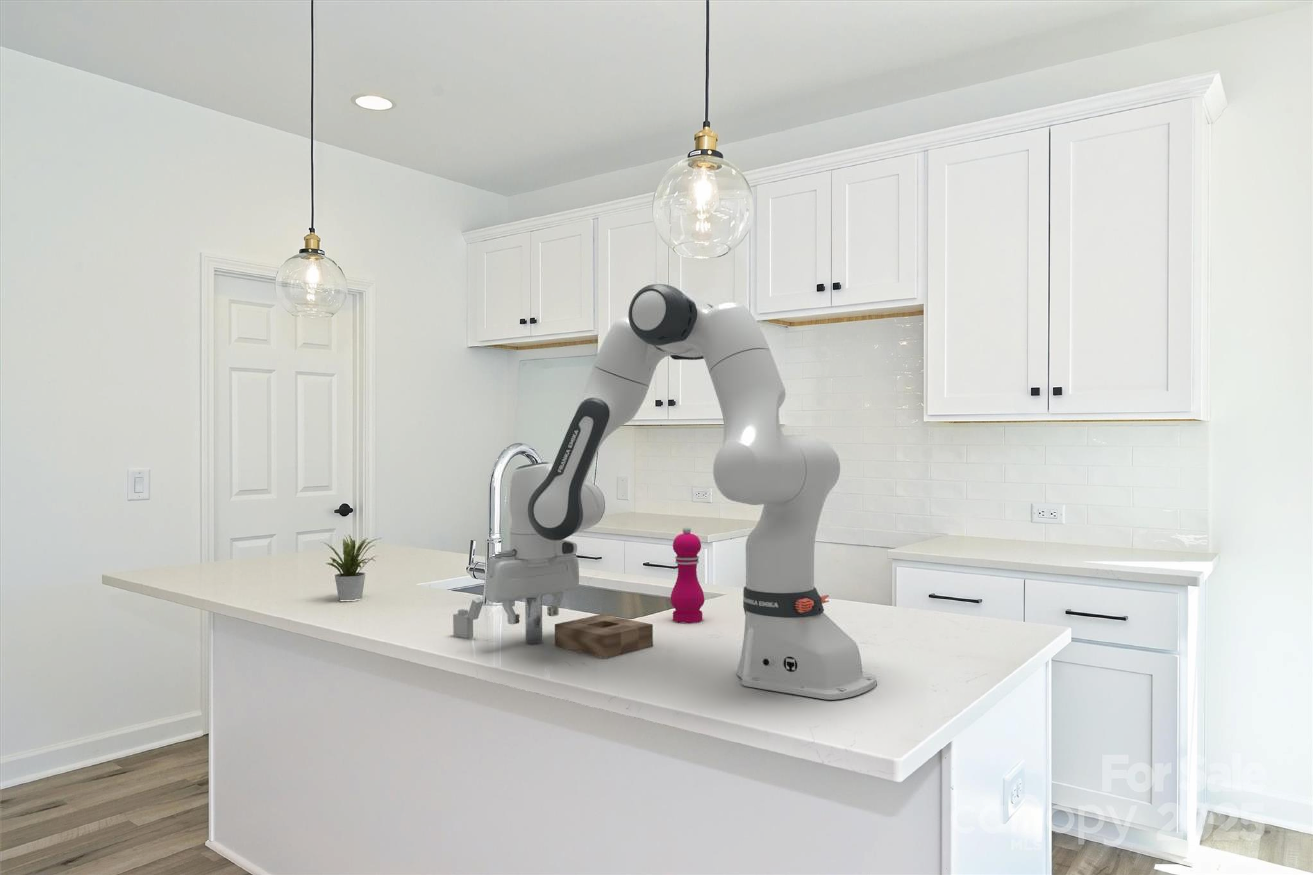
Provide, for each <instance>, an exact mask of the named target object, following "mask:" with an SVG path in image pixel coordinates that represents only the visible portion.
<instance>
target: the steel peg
mask: <svg viewBox="0 0 1313 875" xmlns="http://www.w3.org/2000/svg"><path fill="white" fill-rule="evenodd" d="M524 605H525V606H524V610H525V611H524V612H525V613H524V614H525V616H524V618H525V622H524V623H525V625H524V626H525V644H526V645H540V644H542V643H543V595H542V596H541V595H540V594H537V596H535V597H531V598H525V599H524Z"/></svg>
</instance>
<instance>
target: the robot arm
mask: <svg viewBox="0 0 1313 875" xmlns="http://www.w3.org/2000/svg"><path fill="white" fill-rule="evenodd" d="M598 350H599V351H598V353H597V355H596V358H595V360H594V363H593V366H592V369H591V371H590V374H589V378H588V381H587V382H586V386H585V389H584V392H583V395H582V397H581V399H580V402H579V404H578V407H577V409H576V411H575V414H574V415H573V418H572V420H571V422H570V423H569V427H568V429H567V431H566V433H565V436H564V438H563V440H562V443H561V445H560V447H559V450H558V451H557V454H556V457H555V460H554V461H553V463H551V462H548V461H542V462H536V463H529V464H523V465H521V466H518V467H517V468H515V470H514V471H513V472H512V475H511V480H510V486H509V487H510V488H509V513H510V516H511V525H510V529H509V550H505V551H495V552H494V553H493V554H492V555H490V557H489V558H488V559H487V562H486V564H487V566H486V567H487V568H486V571H487V572H486V575H485V576H486V577H485V586H484V595H485V596H484V597H485V598H486V600H487V601H488V602H489V603H490V602H491V603H494V604H502V605H501V606H502V608H503V610H504V611H505V613H506V615H507V623H508V624H509V625H512V626H513V625H516V624H519V623H520V621H521V620H520V616H521V615H520V613H516V612H515V609H514V607H515V606H516V601H518V600H525V598H531V597H535V596H537V594H540V595H541V596H542V597H543V596H547V595H551V596H550V597H552V599H551V600H552V601H551V602H550V605H548V606H547V607H546V609H547V616H549V617H556V616H559V614H560V613H559V612H560V610H559V609H560V608H559V607H560V605H561V604H562V601H563V599H564V592H569V591H574V590H576V589H577V588H578V585H579V584H580V567H579V560H578V557H577V555H576V553H578V544H577V542H574V541H570V540H566V539H567V538H569V537H570V536H572V535H574V534H576V533H580V532H583V531H585V530H588V529H591V528H592V527H594V526H595V525H597V524H598V523H599V522H600V521H601V520H602V518H603V517H604V513H605V511H606V501H605V496H604V494H603V492H602V491H601V489H600V488H599V487H598V486H597V485H596V484H594V483H593V482H590V481H586V480H587V478H588V476H589V474H590V470H591V468H592V465H593V463H594V460H595V458H596V456H597V453H598V452H599V450H600V447H601V445H603V443H604V441H605V440H606V439H607V438H609V436H610V435H611V434H612V433H613V432H615V431H616V430H618V429H619V428H620V427H622V426H623V425H625V424H627V423H629V422H630V421H632V420H633V419H634V418H635V416H636V415H637V413H638V412H639V410H640V409H641V406H642V405H643V403H644V401H645V399H646V396H647V394H648V391H649V388H650V385H651V382H652V379H653V377H654V373H655V371H656V369H657V366H658V364H659V363H660V362H661V361H662V360H663V359H664V358H667V357H669V358H671V359H672V360H675V361H677V360H679V361H680V360H681V361H682V360H686V361H687V360H688V361H697V360H704V362H705V365H706V368H707V370H708V371H707V372H708V373H709V377H710V379H711V383H712V385H713V388H714V389H713V390H714V392H715V394H716V397H717V402H718V404H719V407H720V411H721V415H722V420H723V421H722V422H723V440H722V444H721V447H720V448H719V450H718V451H717V453H716V455H715V458H714V462H713V466H712V468H713V469H712V474H713V479H714V483H715V485H716V488H717V490H718V491H719V492H720V494H721V495H722V496H723V497H725V498H726V499H728V500H729V501H733V502H737V503H740V504H747V505H751V506H759V505H760V506H761V505H763V507H762V512H761V514H760V517H759V520H758V522H757V524H756V525H755V527H754V528H753V529H752V530H751V532H750V533H749V534H748V536H747V538H746V541H745V586H744V587H743V598H742V602H743V603H742V607H743V611H744V616H745V618H744V634H743V642H742V648H741V654H740V659H739V663H738V666H737V668H736V669H737V670H736V675H737V677H739V678H740V679H741V685H742V686H743V687H748V688H756V689H759V690H760V689H762V690H767V691H774V692H779V693H785V694H790V695H791V694H793V695H796V696H805V697H809V698H816V699H822V700H827V701H828V700H829V701H831V700H841V699H847V698H851V697H855V696H858V695H861V694H864V693H866V692H868V691H870V690H872V689H874V687H876V685H877V683H878V681H877V676H876V674H873V673H871V672H868V671H863V665H862V664H863V663H862V658H861V654H860V650H859V646H858V644H857V642H856V641H855V640H854V639H853V638H852V637H851V636H849V635H848V634H847V633H846V632H845V631H844V630H843V629H842V628H841V627H839V626H838V625H837V623H835V622H834V621H833V620H832V618H830V617H829V616H828V615H827V614H826V613H825V612H824V611H825V609H824V608H825V607H824V605H823V604H827V603H829V602H830V600H826V599H828V598H829V597H830V595H829V594H826V595H822V596H820V594H819V592H818V590H817V588H816V587H815V546H816V545H815V544H816V535H817V530H818V527H819V526H818V525H819V521H820V518H821V513H822V511H823V507H824V505H825V502H826V500H827V497H828V495H829V493H830V492H831V491H832V490H833V488H834V487H835V485H836V484H837V482H838V480H839V478H840V473H841V462H840V459H839V455H838V454H837V452H836V450H835V449H834V448H833V446H831V444H829V443H828V442H826V441H824V440H820V439H818V438H816V437H812V436H809V435H799V434H798V435H793V434H792V435H786V434H784V433H783V431H782V428H781V422H780V417H779V416H780V414H779V412H780V408H781V407H782V405H783V404H784V402H785V399H786V394H787V393H786V387H785V385H784V383H783V380H782V378H781V375H780V372H779V370H778V367H777V364H776V362H775V359H774V357H773V353H772V352H771V350H770V347H769V344H768V342H767V339H766V337H765V334H764V333H763V331H762V330H761V327H760V325H759V324H758V323H757V320H756V319H755V317H754V315H753V314H752V313H751V311H750V310H749V308H747V306H745V305H743V304H741V303H739V302H734V301H729V302H728V301H727V302H723V303H719V304H716V305H714V306H713V305H712V304H709V303H706V302H705V301H703V299H700V298H698V297H697V296H696V295H695V294H692V293H689V292H688V291H685V290H682V289H679V288H676V287H675V286H672V285H670V284H663V283H654V284H653V283H652V284H649V285H646V286H644V287H642V288H641V289H640V290H638V291H637V292H636V293H635V295H634V296H633V298H632V300H631V301H630V305H629V307H628V316H623V317H620V318H618V319H617V320H615V321H614V322H613V324H612V325H611V327H610V329H609V330H608V332H607V334H606V336H605V338H604V339H603V342H602V343H601V346H600V348H599V349H598Z"/></svg>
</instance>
